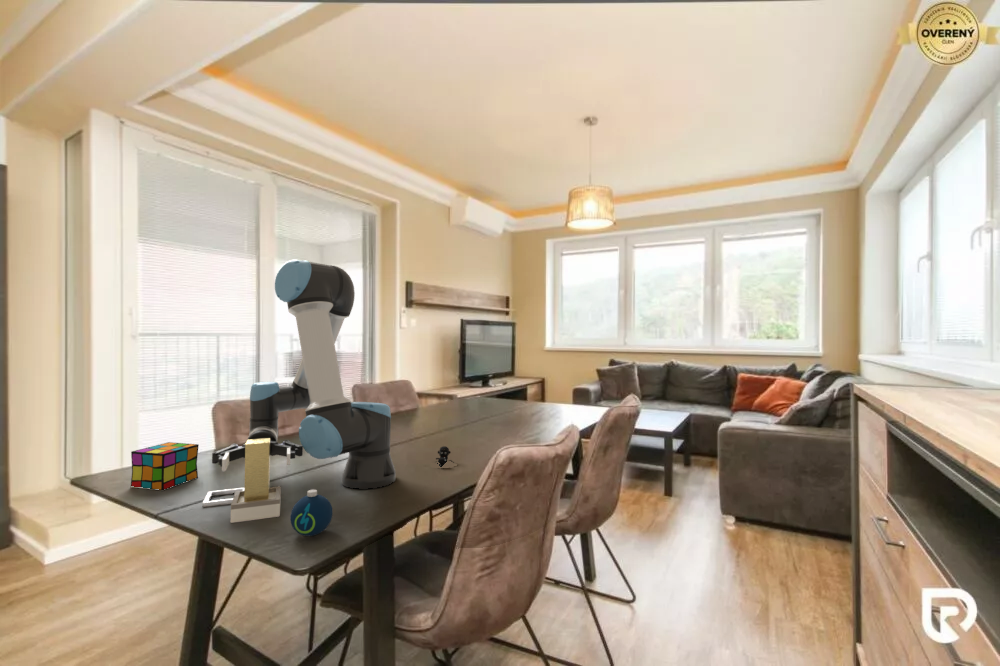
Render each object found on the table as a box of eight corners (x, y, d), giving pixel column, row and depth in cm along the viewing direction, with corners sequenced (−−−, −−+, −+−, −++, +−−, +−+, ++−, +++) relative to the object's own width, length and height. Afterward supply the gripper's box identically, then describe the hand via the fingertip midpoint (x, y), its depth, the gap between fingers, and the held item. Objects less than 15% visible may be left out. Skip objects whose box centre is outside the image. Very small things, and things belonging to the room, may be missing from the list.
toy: (162, 491, 123) (163, 454, 123) (130, 488, 125) (131, 451, 125) (198, 478, 134) (198, 444, 134) (168, 475, 136) (168, 442, 136)
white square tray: (280, 501, 116) (280, 486, 116) (279, 516, 107) (279, 499, 107) (235, 507, 112) (235, 491, 112) (230, 522, 103) (230, 505, 103)
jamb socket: (247, 490, 124) (247, 487, 124) (244, 502, 116) (244, 498, 116) (208, 495, 120) (208, 491, 120) (202, 507, 112) (202, 503, 112)
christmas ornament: (280, 538, 96) (281, 491, 96) (310, 523, 104) (311, 479, 104) (312, 546, 93) (313, 496, 93) (340, 529, 101) (341, 484, 101)
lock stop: (269, 494, 113) (270, 438, 113) (268, 501, 109) (269, 442, 109) (246, 497, 111) (247, 439, 111) (244, 504, 107) (245, 444, 107)
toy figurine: (426, 470, 147) (426, 452, 147) (429, 461, 157) (430, 444, 157) (457, 470, 147) (457, 452, 147) (458, 461, 157) (459, 444, 157)
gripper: (310, 451, 132) (313, 472, 113) (209, 460, 122) (194, 484, 102) (310, 425, 132) (314, 442, 113) (209, 432, 122) (194, 451, 102)
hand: (257, 462), depth 108 cm, fingers open, 13 cm apart
